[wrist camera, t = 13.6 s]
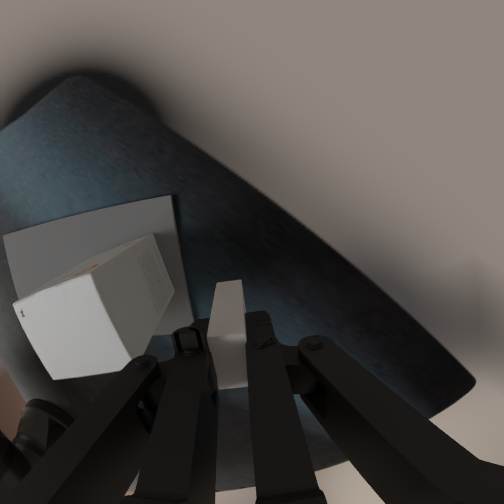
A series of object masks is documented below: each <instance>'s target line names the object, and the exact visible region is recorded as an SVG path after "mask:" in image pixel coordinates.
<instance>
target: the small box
mask: <svg viewBox="0 0 504 504" xmlns="http://www.w3.org/2000/svg"><path fill="white" fill-rule="evenodd" d="M174 293H175V290H174V287H173V285H172V282H171V280H170V277H169V275H168V272H167V270H166V267H165V265H164V262H163V259H162V257H161V254H160V251H159V249H158V246H157V243H156V240H155V238H154V235H153V234H149V235H147V236H144V237H141V238H138V239H136V240H133V241H130V242H128V243H125V244H122V245H120V246H117V247H115V248H112V249H110V250H107V251H105V252H102V253H100V254H97V255H95V256H93V257H91V258H89V259H87V260H86V261H84V262H82V263H80V264H79V265H77V266H75V267H74V268H72V269H70V270H68V271H66V272H65V273H63V274H61V275H59V276H58V277H56V278H54V279H52V280H50V281H49V282H47V283H45V284H44V285H42V286H40V287H39V288H37V289H35V290H34V291H32V292H30V293H29V294H27V295H26V296H24V297H22V298H21V299H19V300H18V301H16V302H15V303H13V307H14V309H15V312H16V314H17V316H18V319H19V321H20V323H21V325H22V327H23V329H24V331H25V333H26V335H27V337H28V339H29V341H30V343H31V344H32V346H33V348H34V350H35V351H36V353H37V355H38V357H39V358H40V360H41V362H42V363H43V365H44V366H45V368H46V370H47V371H48V373H49V374H50V376H51V377H52V379H53V380H61V379H70V378H78V377H85V376H92V375H99V374H105V373H111V372H117V371H121V370H122V369H123V368H124V367H125V366H126V365H127V364H128V362H129V361H131V360H132V359H133V358H136V357H137V356H140V355H141V356H142V355H143V354H144V352H145V350H146V348H147V346H148V344H149V342H150V340H151V338H152V336H153V334H154V332H155V330H156V328H157V326H158V324H159V322H160V320H161V318H162V316H163V314H164V312H165V310H166V308H167V306H168V305H169V302H170V301H171V299H172V297H173V295H174Z"/></svg>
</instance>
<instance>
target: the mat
mask: <svg viewBox="0 0 504 504" xmlns="http://www.w3.org/2000/svg"><path fill="white" fill-rule="evenodd" d="M149 234H153V235H154V238H155V240H156V243H157V246H158V249H159V251H160V254H161V257H162V259H163V262H164V265H165V267H166V270H167V272H168V275H169V277H170V280H171V282H172V285H173V287H174V290H175V293H174V295H173V297H172V299H171V301H170V302H169V305H168V306H167V308H166V310H165V312H164V314H163V316H162V318H161V320H160V322H159V324H158V326H157V328H156V330H155V332H154V334H153V336H154V335H168V334H172V333H173V332H174V331H175V330H177V329H179V328H182V327H187V326H190V325H191V324H192V323H193V322H194V321H195V320H194V315H193V311H192V306H191V302H190V297H189V292H188V287H187V282H186V277H185V272H184V267H183V261H182V256H181V250H180V244H179V238H178V232H177V226H176V220H175V213H174V207H173V200H172V195H169V196H163V197H158V198H152V199H147V200H142V201H137V202H132V203H127V204H122V205H117V206H113V207H108V208H103V209H99V210H95V211H90V212H86V213H82V214H78V215H74V216H70V217H66V218H62V219H58V220H54V221H51V222H47V223H43V224H40V225H36V226H33V227H29V228H26V229H23V230H19V231H16V232H13V233H10V234H6V235H3V238H4V244H5V249H6V254H7V258H8V262H9V267H10V271H11V275H12V278H13V282H14V286H15V289H16V293H17V296H18V299H21V298H22V297H24V296H26V295H27V294H29V293H30V292H32V291H34V290H35V289H37V288H39V287H40V286H42V285H44V284H45V283H47V282H49V281H50V280H52V279H54V278H56V277H58V276H59V275H61V274H63V273H65V272H66V271H68V270H70V269H72V268H74V267H75V266H77V265H79V264H80V263H82V262H84V261H86V260H87V259H89V258H91V257H93V256H95V255H97V254H100V253H102V252H105V251H107V250H110V249H112V248H115V247H117V246H120V245H122V244H125V243H128V242H130V241H133V240H136V239H138V238H141V237H144V236H147V235H149Z"/></svg>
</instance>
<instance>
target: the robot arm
mask: <svg viewBox="0 0 504 504" xmlns="http://www.w3.org/2000/svg"><path fill="white" fill-rule="evenodd" d="M171 338H172V342H173V345H174V349H175V352H176V353H175V356H174V358H173V359H171V360H168V361H164V362H160V363H158V361H157V358H156V357H154V356H152V355H142V356H141V355H140V356H137V357H136V358H133V359H132V360H131V361H129V362H128V364H127V365H126V366H125V367H124V368H123V369H122V370H121V371H120V372H119V373H118V374H117V375H116V376H115V377H114V379H113V380H112V381H111V382H110V383H109V384H108V385H107V386H106V387H105V388H104V389H103V390H102V392H101V393H100V394H99V395H98V396H97V397H96V398H95V399H94V400H93V401H92V402H91V403H90V405H89V406H88V407H87V408H86V409H85V410H84V411H83V412H82V413H81V414H80V415H79V417H78V418H77V419H76V420H73V419H72V418H71V417H70V416H68V415H67V414H66V413H64V412H63V411H61V410H60V409H58V408H56V407H55V406H53V405H51V404H49V403H47V402H44V401H41V400H36V399H33V400H30V401H28V403H27V404H26V405H25V406H24V408H23V410H22V413H21V419H20V422H19V426H18V429H17V434H16V437H15V438H14V439H13V441H12V442H11V441H10V440H9V439H8V438H7V437H6V436H5V435H4V433H3V432H2V431H1V430H0V504H215V482H216V452H217V428H218V406H219V395H218V391H217V383H218V387H219V389H229V388H239V387H248V394H249V408H250V421H251V434H252V447H253V459H254V471H255V483H256V496H257V499H256V502H255V504H327V501H326V498H325V495H324V493H323V491H321V490H320V489H319V487H318V484H317V480H316V476H315V473H314V469H313V465H312V462H311V458H310V454H309V451H308V447H307V443H306V440H305V436H304V432H303V429H302V425H301V421H300V418H299V414H298V411H297V407H296V403H295V400H294V396H293V394H300V396H301V399H302V400H303V402H304V403H305V404H306V406H307V407H308V408H309V410H310V411H311V412H312V414H313V415H314V416H315V417H316V419H317V420H318V421H319V423H320V424H321V425H322V427H323V428H324V429H325V431H326V432H327V433H328V434H329V436H330V437H331V438H332V440H333V441H334V442H335V443H336V445H337V446H338V447H339V448H340V450H341V451H342V452H343V453H344V455H345V456H346V457H347V458H348V460H349V461H350V462H351V463H352V465H353V466H354V467H355V468H356V469H357V471H358V472H359V473H360V474H361V476H362V477H363V478H364V479H365V480H366V481H367V483H368V484H369V485H370V486H371V487H372V489H373V490H374V491H375V492H376V493H377V494H378V495H379V497H380V498H381V499H382V500H383V501H384V503H385V504H504V466H501V465H497V464H493V463H490V462H486V461H483V460H479V459H478V458H477V457H475V456H474V455H473V454H471V453H470V452H469V451H468V450H466V449H465V448H464V447H462V446H461V445H460V444H459V443H457V442H456V441H455V440H453V439H452V438H451V437H450V436H448V435H447V434H446V433H445V432H443V431H442V430H441V429H439V428H438V427H437V426H436V425H434V424H433V423H432V422H431V421H429V420H428V419H427V418H426V417H424V416H423V415H422V414H421V413H419V412H418V411H417V410H416V409H414V408H413V407H412V406H411V405H409V404H408V403H407V402H406V401H404V400H403V399H402V398H401V397H400V396H398V395H397V394H396V393H395V392H393V391H392V390H391V389H390V388H388V387H387V386H386V385H385V384H384V383H382V382H381V381H380V380H379V379H377V378H376V377H375V376H374V375H373V374H371V373H370V372H369V371H368V370H367V369H365V368H364V367H363V366H362V365H360V364H359V363H358V362H357V361H356V360H354V359H353V358H352V357H351V356H350V355H348V354H347V353H346V352H345V351H344V350H342V349H341V348H340V347H339V346H338V345H336V344H335V343H334V342H333V341H332V340H330V339H329V338H327V337H325V336H320V335H312V336H308V337H305V338H303V339H301V340H300V341H299V343H298V346H286V345H283V344H280V343H279V341H278V340H277V338H276V337H275V334H274V330H273V326H272V323H271V319H270V315H269V314H268V313H267V312H265V311H257V312H250V313H246V309H245V302H244V295H243V288H242V281H241V280H234V281H226V282H218V283H217V284H216V289H215V294H214V299H213V305H212V310H211V316H210V318H206V319H196V320H195V321H194V322H193V323H192V324H191V325H190V326H187V327H182V328H179V329H177V330H175V331H174V332H173V333H172V334H171ZM140 400H141V401H142V405H141V406H140V407H138V404H139V402H140ZM140 468H141V470H140ZM139 470H140V474H139V478H138V482H137V486H136V489H135V492H134V494H132V495H128V496H124V495H125V493H126V492H127V490H128V489H129V487H130V485H131V484H132V482H133V480H134V479H135V477H136V475H137V474H138V472H139Z"/></svg>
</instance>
